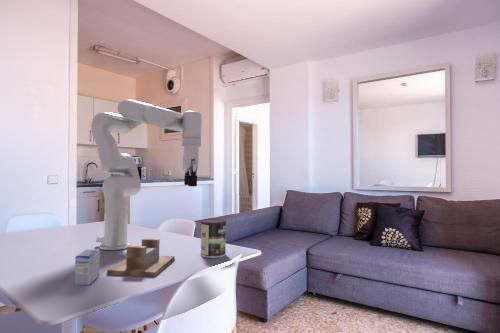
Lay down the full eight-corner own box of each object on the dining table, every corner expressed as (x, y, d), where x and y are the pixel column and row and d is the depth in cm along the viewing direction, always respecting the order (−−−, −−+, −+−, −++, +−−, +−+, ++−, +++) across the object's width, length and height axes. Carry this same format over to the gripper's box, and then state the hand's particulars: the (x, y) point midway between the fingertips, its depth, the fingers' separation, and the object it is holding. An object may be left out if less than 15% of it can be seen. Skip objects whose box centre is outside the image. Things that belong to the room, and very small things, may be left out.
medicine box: (85, 276, 104) (86, 249, 104) (99, 276, 104) (100, 249, 104) (74, 285, 96) (74, 255, 96) (89, 285, 96) (90, 255, 96)
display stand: (107, 274, 106) (107, 248, 106) (134, 258, 125) (134, 236, 126) (154, 276, 104) (155, 250, 104) (174, 260, 124) (175, 237, 124)
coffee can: (229, 253, 136) (230, 219, 136) (219, 259, 126) (219, 223, 126) (207, 250, 140) (208, 218, 140) (195, 256, 130) (196, 221, 130)
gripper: (178, 143, 136) (177, 184, 136) (185, 140, 119) (184, 186, 119) (196, 144, 138) (195, 184, 138) (205, 141, 122) (204, 186, 122)
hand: (190, 185), depth 129 cm, fingers open, 9 cm apart
